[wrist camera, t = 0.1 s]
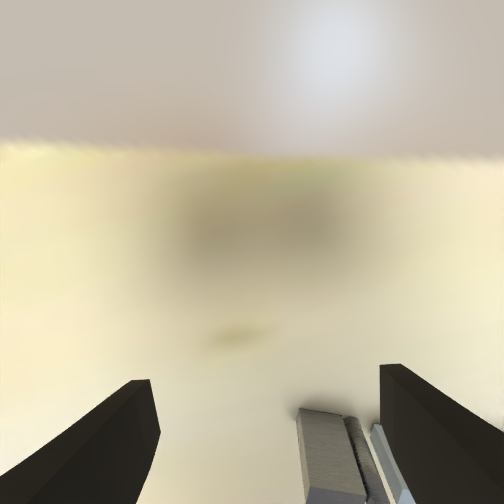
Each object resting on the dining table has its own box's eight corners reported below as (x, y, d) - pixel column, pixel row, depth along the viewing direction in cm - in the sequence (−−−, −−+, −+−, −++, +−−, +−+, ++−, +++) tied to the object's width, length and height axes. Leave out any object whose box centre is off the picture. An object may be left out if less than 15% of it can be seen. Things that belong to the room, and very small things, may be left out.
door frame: (584, 470, 21) (702, 577, 15) (295, 423, 21) (305, 511, 16) (592, 454, 20) (716, 558, 15) (299, 407, 21) (311, 490, 15)
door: (556, 468, 21) (634, 545, 16) (369, 437, 21) (397, 506, 16) (568, 442, 20) (652, 515, 16) (377, 411, 20) (407, 474, 16)
